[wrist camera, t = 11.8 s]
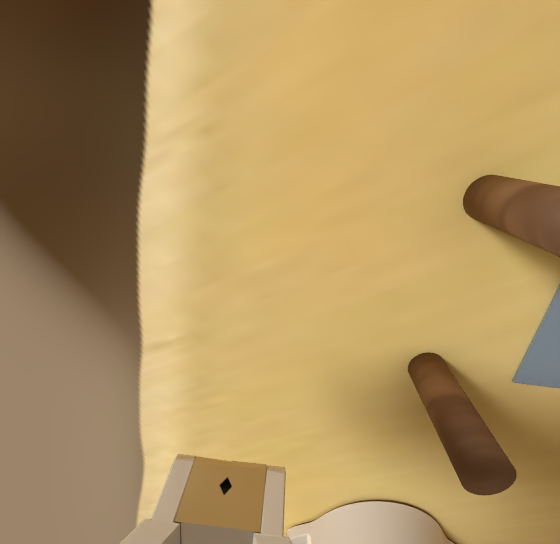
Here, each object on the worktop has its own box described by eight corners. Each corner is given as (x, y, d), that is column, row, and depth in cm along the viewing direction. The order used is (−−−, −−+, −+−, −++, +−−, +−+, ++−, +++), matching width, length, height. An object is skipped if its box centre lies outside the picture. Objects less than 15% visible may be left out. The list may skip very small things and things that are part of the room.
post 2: (499, 222, 21) (635, 276, 12) (457, 216, 21) (563, 268, 12) (516, 177, 20) (678, 205, 11) (471, 172, 20) (598, 196, 11)
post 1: (438, 383, 26) (504, 498, 18) (404, 378, 26) (453, 491, 18) (449, 355, 25) (525, 463, 16) (413, 350, 25) (471, 456, 16)
